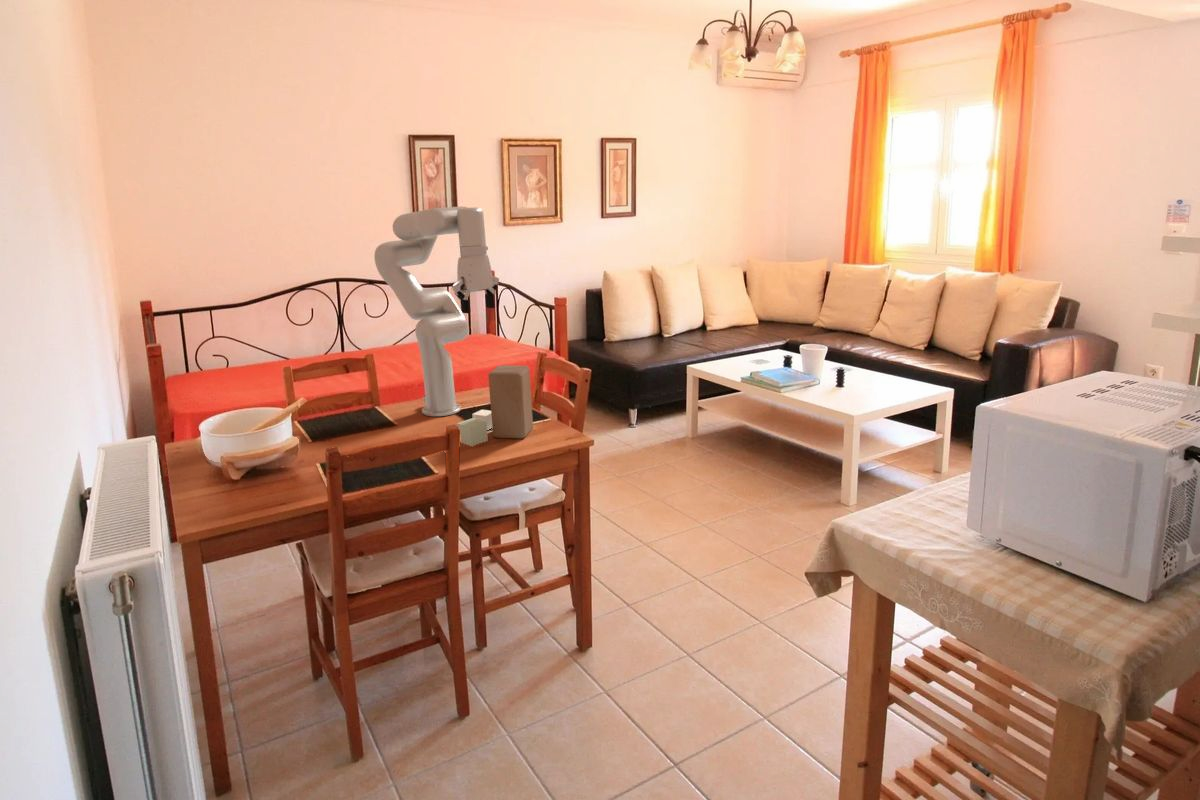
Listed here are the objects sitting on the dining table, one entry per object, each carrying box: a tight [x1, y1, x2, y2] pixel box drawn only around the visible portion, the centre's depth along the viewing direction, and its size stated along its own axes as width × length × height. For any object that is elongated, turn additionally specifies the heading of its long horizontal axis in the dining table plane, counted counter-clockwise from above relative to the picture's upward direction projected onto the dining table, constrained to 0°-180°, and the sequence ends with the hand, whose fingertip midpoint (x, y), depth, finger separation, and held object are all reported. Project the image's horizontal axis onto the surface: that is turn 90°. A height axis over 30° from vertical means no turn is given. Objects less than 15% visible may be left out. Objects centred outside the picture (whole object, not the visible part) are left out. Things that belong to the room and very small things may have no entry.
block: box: [487, 364, 534, 439], centre depth 223 cm, size 10×10×20 cm
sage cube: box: [456, 418, 489, 447], centre depth 219 cm, size 6×6×6 cm
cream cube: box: [471, 409, 492, 431], centre depth 231 cm, size 5×5×5 cm
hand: (478, 310), depth 223 cm, fingers open, 9 cm apart
